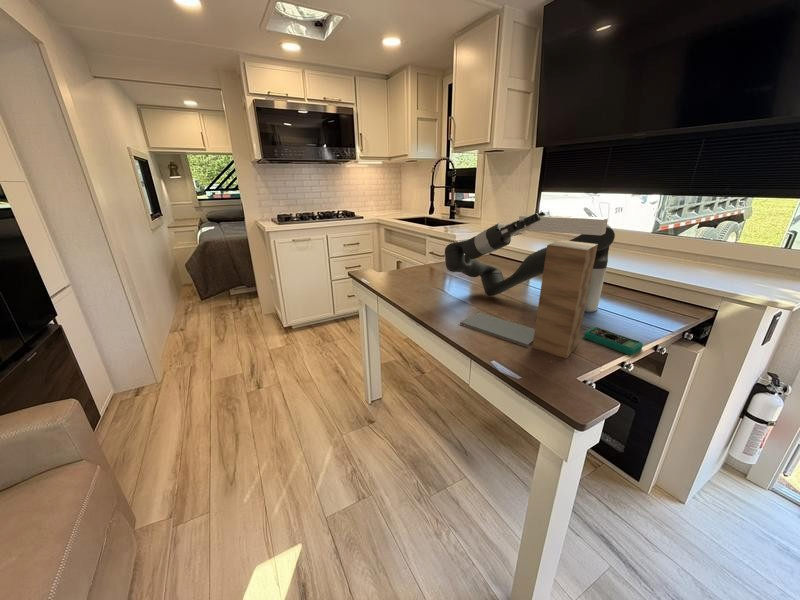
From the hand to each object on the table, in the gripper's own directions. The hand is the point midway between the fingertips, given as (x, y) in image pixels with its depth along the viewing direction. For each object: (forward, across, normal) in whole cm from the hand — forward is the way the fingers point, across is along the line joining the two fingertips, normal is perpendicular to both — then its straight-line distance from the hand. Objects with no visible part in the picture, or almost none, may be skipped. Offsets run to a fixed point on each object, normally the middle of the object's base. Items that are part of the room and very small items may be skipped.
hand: (541, 215), depth 93 cm
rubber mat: (-27, 0, -30) cm, 40 cm away
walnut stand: (-11, 0, -39) cm, 40 cm away
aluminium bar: (+3, 0, -6) cm, 7 cm away
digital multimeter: (-1, -14, -46) cm, 48 cm away
